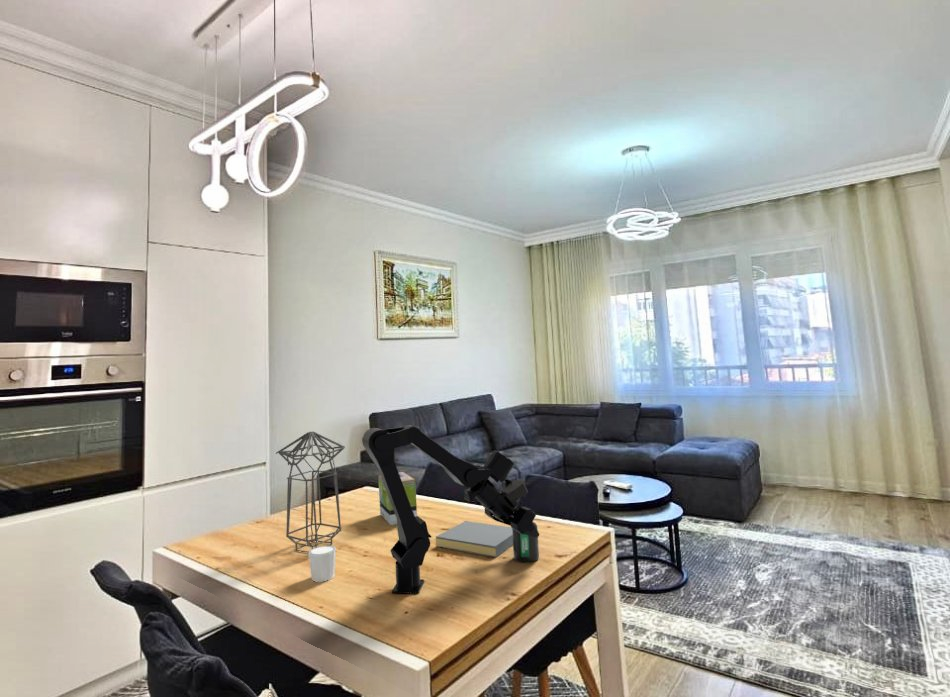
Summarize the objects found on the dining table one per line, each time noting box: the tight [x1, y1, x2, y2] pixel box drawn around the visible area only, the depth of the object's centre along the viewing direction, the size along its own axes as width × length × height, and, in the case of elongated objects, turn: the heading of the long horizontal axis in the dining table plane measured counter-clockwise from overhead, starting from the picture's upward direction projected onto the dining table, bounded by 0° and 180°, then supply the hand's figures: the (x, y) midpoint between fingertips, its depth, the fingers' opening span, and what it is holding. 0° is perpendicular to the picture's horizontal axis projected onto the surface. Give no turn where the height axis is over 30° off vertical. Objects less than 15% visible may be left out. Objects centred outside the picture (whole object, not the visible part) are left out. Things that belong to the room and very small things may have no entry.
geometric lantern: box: [275, 431, 346, 554], centre depth 149 cm, size 16×16×35 cm
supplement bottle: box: [512, 521, 540, 563], centre depth 132 cm, size 7×7×12 cm
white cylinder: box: [307, 545, 337, 583], centre depth 126 cm, size 7×7×7 cm
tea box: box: [377, 471, 418, 526], centre depth 175 cm, size 15×10×15 cm
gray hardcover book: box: [435, 520, 513, 558], centre depth 145 cm, size 16×20×3 cm
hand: (528, 531), depth 133 cm, fingers open, 9 cm apart
